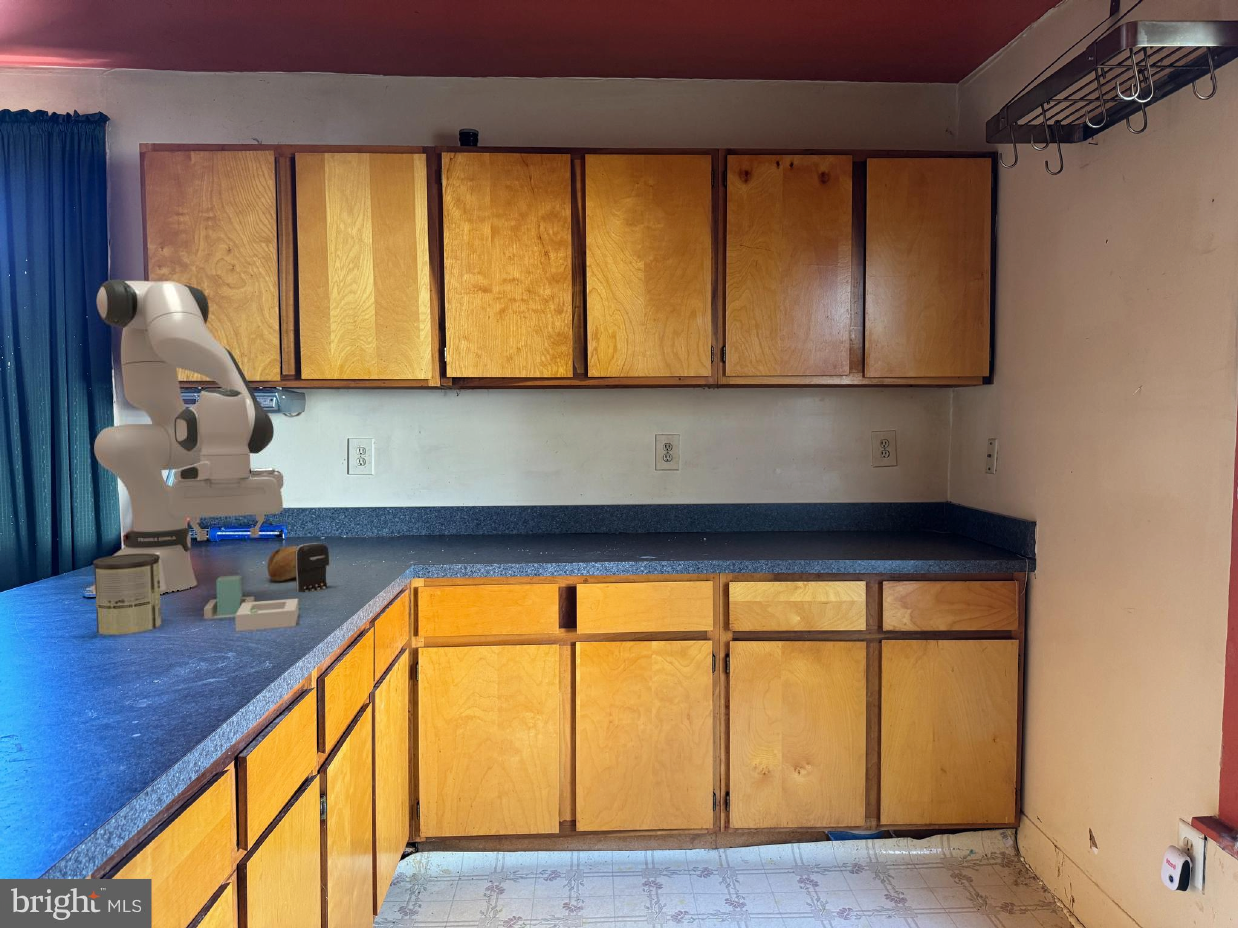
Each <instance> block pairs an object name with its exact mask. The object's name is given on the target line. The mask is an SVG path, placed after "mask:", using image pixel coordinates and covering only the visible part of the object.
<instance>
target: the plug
mask: <svg viewBox="0 0 1238 928" xmlns="http://www.w3.org/2000/svg"><path fill="white" fill-rule="evenodd" d="M242 580H243V579H242V574H241V575H227V576H226V575H225V576H219V577H218V578H217V579H216V580H215V582H216V599H217V615H230V614H236V613H237V611H238V610H239V608H240V606H241V605H242V597H243V585H242V584H243V583H242V582H243V581H242Z"/></svg>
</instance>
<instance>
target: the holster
mask: <svg viewBox="0 0 1238 928" xmlns="http://www.w3.org/2000/svg"><path fill="white" fill-rule="evenodd" d="M247 602H255V596H246V597H243V596H242V603H247ZM235 615H236V614H230V615H217V598H216V599H210V600H209V601H208V603H207V604H206V605H205V607H204V608H203V619H204V620H210V619H211V620H212V619H222V618H224V619H225V618H232V617H233V618H234V617H235V618H236V616H235Z"/></svg>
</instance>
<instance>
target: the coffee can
mask: <svg viewBox="0 0 1238 928" xmlns="http://www.w3.org/2000/svg"><path fill="white" fill-rule="evenodd" d="M159 559H160V556H159V555H157V554H149V553H148V554H147V553H140V554H124V555H116V556H113V555H111V556H110V555H109V556H106V557H105V556H104V557H100V558H98V559H95V560H93V567H94V584H95V589H96V598H95V607H96V627H97V630H96V631H97V634H98V633H99V635H103V636H104V635H105V636H115V635H117V636H118V635H120V636H121V635H122V636H123V635H129V634H136V633H142V632H147V631H151V630H153V629H157V628H158V627H160V626H162V606H161V595H160V576H159Z"/></svg>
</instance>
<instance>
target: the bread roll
mask: <svg viewBox="0 0 1238 928" xmlns="http://www.w3.org/2000/svg"><path fill="white" fill-rule="evenodd" d="M297 547H298V545H297V546H296V545H291V546H284V547H280V548H277V549H276V550H274V551H273V552H272V553H271V554H270V556H269V558H268V561H267V565H266V567H267V568H266V569H267V573H268V576H269V578H270V579H271V580H272V581H276V582H281V581H286V580H291V579H296V569H295V551H296V549H297Z"/></svg>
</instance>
